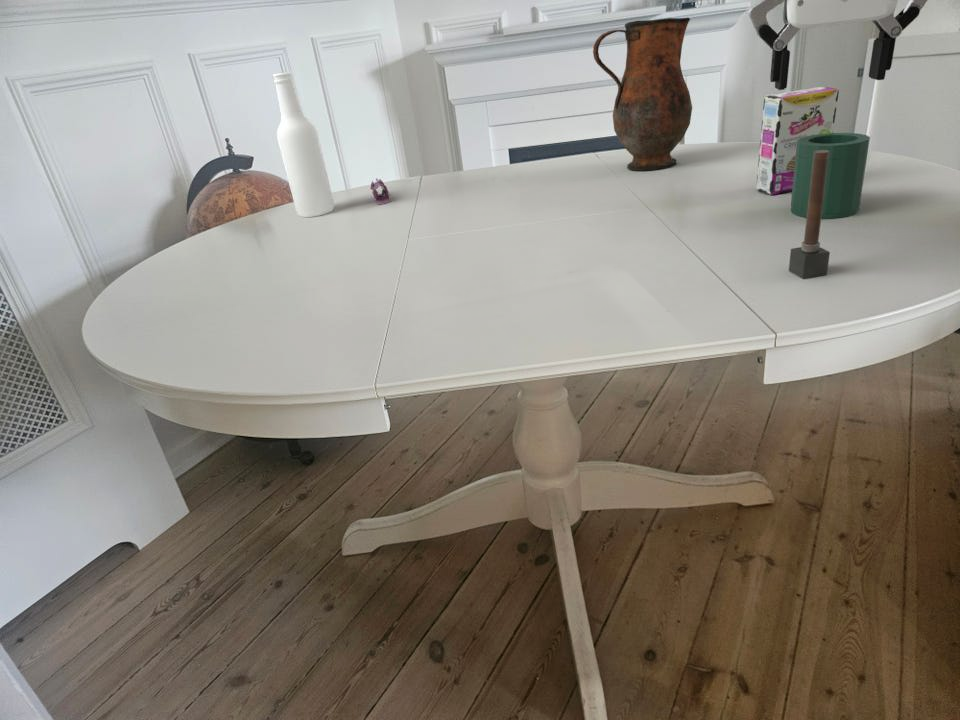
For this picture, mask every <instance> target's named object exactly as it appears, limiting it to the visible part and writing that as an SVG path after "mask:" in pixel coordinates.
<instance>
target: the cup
mask: <svg viewBox="0 0 960 720" xmlns="http://www.w3.org/2000/svg"><path fill="white" fill-rule="evenodd" d="M870 139H871V136H869V135H867V134H863V133H858V132H857V133H856V132H833V133H828V134H818V135H812V136H807V137H804V138H800V139H799V140H798V141H797V148H796V158H795V168H794V178H793V188H792V191H791V199H790V212H791V213H792V214H793V215H795V216H798V217H801V218H805V219H806V218H807V209H808V200H809V192H810V183H811V174H812V165H813V156H814V152H815V151H818V150H828V151H829V159H828V167H827V175H826V183H825V192H824V200H823V208H822V216H821V220H830V219H831V220H832V219H840V218H841V219H842V218H847V217H850V216H853V215H855V214H857V213H858V212H859V210H860V209H859V208H860V205H861V200H862V193H863V187H864V181H865V180H864V179H865V173H866V167H867V160H868V159H867V158H868V153H869V146H870Z"/></svg>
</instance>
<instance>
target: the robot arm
mask: <svg viewBox="0 0 960 720" xmlns="http://www.w3.org/2000/svg"><path fill="white" fill-rule="evenodd" d="M898 2H899V0H762V1H760V2H759V3H757V4H756V5H753V7H751V8H750V9H749V10H748V16H749V18H750V21H751V23H752V25H753V27H754V29H755V32H756V35H757V36H758V37H759V38H760V39H761V40H762V41H763V42H764V43H765V44H766V45H767V46H768V47H769V48H770V49H771V50H772V52H771V65H770V74H769V75H770V76H769V79H770V83H774V89H777V90H778V91H784V90H786V89H787V87H788V78H789V69H790V68H789V67H790V57H791V51H790V50H789V49H788V45H789V43H790V42H791V41H792V39H793V38H794V37H795V36H796V35H797V34H798V33H799V31H800V30H801V29H815V28H824V27H833V26H840V25H841V26H842V25H850V24H858V23H865V22H871V23H872V25H873V26H874V28H875V29H876V30H877V31H878V37H875V39H873V42H872V43H873V44H872V49H871V57H870V64H869V71H868V78H870V79H872V80H875V81H884V80H885V77H886V72H887V71H890V70H891V68H892V64H893V58H894V53H895V46H896V41H897V38H898V37H900V36H901V35H902V33H903V31H904V30H905V29H906V28H907V27H908V26H909V25H910V24H912V22H914V21H915V20H916V19H917V18H918V16H919V15H920V14H921V13H920V12H921V10H922V9H923V8H924V7H925V5H926V3H927V2H928V0H909V1H908V2H907V4H906V5H905V7H904V8H903V9H902V10H900V12H898V13H897V15H896V16H894V15H893V13H894V12H895V11H896V8H897V5H898ZM781 4H783V5H782V21H783V25H782V26H781V27H780V28H779V30H778V31H777V32H776V31H775V30H774V29H773V28H772V27H771V26H770V24H769V22H768V19H767V14H768V13H769V12H771V11H772V10H774V9H775V8H777V7H778V6H780V5H781Z"/></svg>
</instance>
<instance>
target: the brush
mask: <svg viewBox="0 0 960 720" xmlns="http://www.w3.org/2000/svg"><path fill="white" fill-rule="evenodd" d="M828 159H829V151H828V150H818V151H815V152H814V156H813V165H812V174H811V183H810V192H809V200H808V209H807V218H806V217H805V227H804V228H805V229H804V236H803V241H802V242H801V246H799V247H793V248H790V252H789V253H790V254H789V264H788V272H790V273H791V274H793V275H795V276H797V277H799V278H801V279H803V280H804V279H809V278H816V277H821V276H827V275H828V268H829V262H830V256H831V255H830V254H831V252H830V251H829V250H826V249H825V248H822V247H820V246H821V243H820V241H819V239H820V233H821V232H820V231H821V223H822V219H821V216H822V208H823V200H824V192H825V183H826V175H827V167H828Z"/></svg>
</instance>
